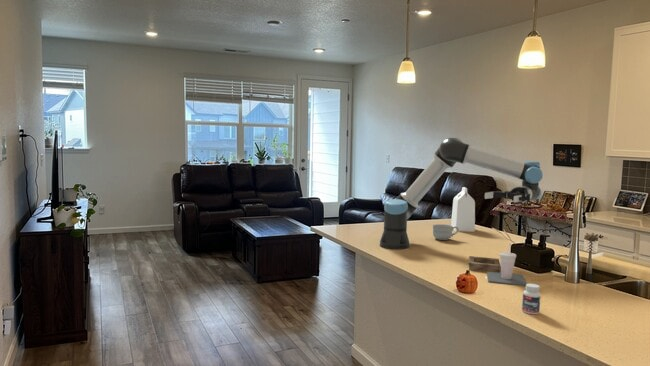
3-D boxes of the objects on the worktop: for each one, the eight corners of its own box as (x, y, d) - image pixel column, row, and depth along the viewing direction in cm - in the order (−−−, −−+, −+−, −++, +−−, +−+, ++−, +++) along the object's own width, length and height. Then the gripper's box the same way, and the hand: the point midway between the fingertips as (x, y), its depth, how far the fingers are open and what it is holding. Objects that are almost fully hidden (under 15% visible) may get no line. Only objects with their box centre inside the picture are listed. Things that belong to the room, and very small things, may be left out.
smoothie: (513, 281, 187) (515, 245, 185) (496, 278, 190) (498, 243, 189) (516, 277, 192) (518, 243, 191) (499, 274, 195) (502, 241, 194)
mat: (488, 282, 186) (488, 280, 186) (486, 272, 200) (487, 271, 200) (526, 286, 182) (526, 284, 182) (522, 276, 196) (522, 274, 196)
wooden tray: (468, 269, 204) (469, 262, 203) (468, 262, 215) (469, 256, 215) (499, 272, 200) (500, 265, 200) (498, 265, 212) (498, 258, 212)
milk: (474, 231, 288) (477, 189, 286) (455, 231, 289) (457, 188, 286) (469, 227, 300) (471, 186, 298) (450, 227, 301) (452, 186, 298)
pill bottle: (521, 313, 154) (523, 286, 153) (521, 307, 159) (523, 282, 158) (539, 315, 152) (541, 288, 151) (539, 310, 157) (541, 284, 156)
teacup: (430, 240, 261) (431, 225, 260) (433, 236, 271) (434, 222, 270) (456, 242, 256) (457, 228, 255) (458, 238, 266) (459, 224, 265)
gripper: (546, 205, 219) (526, 209, 204) (495, 199, 237) (473, 202, 222) (548, 189, 218) (527, 192, 204) (496, 184, 236) (474, 186, 222)
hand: (499, 197), depth 213 cm, fingers open, 13 cm apart
